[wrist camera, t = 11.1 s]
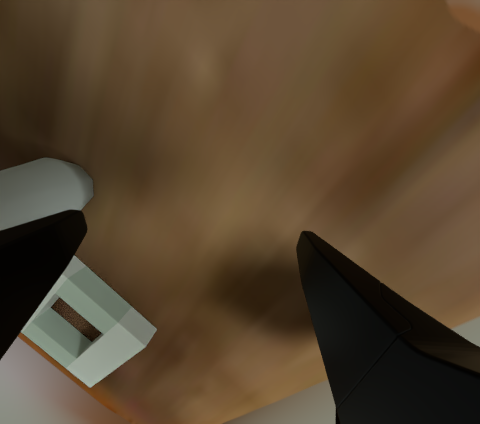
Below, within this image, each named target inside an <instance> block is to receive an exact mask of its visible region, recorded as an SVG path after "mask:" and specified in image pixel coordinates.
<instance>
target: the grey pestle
mask: <svg viewBox="0 0 480 424" xmlns="http://www.w3.org/2000/svg"><path fill="white" fill-rule="evenodd" d="M93 196H94V193H93V179H92V178H91V177H90V176H89V175H88V174H87V173H86V172H85V171H84V170H83V169H82V168H81V167H80V166H79V165H76V164H72V163H69V162H65V161H62V160H57V159H53V158H41V159H38V160H35V161H32V162H28V163H25V164H22V165H18V166H15V167H11V168H8V169H4V170H1V171H0V231H1V230H4V229H7V228H11V227H14V226H17V225H20V224H24V223H27V222H30V221H33V220H37V219H40V218H43V217H46V216H49V215H53V214H56V213H59V212H62V211H66V210H69V209H73V210H80V211H81V209H82V208H83V207H84V206H85V205H86V204H87V203H88V202H89V201H90V200H91V198H92V197H93Z"/></svg>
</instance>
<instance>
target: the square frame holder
mask: <svg viewBox="0 0 480 424" xmlns="http://www.w3.org/2000/svg"><path fill="white" fill-rule="evenodd" d="M59 297H60V298H62V299H63V300H64V301H65V302H66V303H67V304H69V305H70V306H71V307H72V308H73V309H74V310H76V311H77V312H78V313H79V314H80V315H81V316H83V317H84V318H85V319H86V320H87V321H88V322H90V323H91V324H92V325H93V326H94V327H95V328H97V329H98V330H99V331H100V332H101V333H102V334H101V335H99V336H98V337H97V338H96V339H95V340H94V341H93V342H91V341H90V340H89V339H87V338H86V337H85V336H84V335H83V334H82V333H80V332H79V331H78V330H77V329H76V328H74V327H73V326H72V325H71V324H70V323H68V322H67V321H66V320H65V319H64V318H63V317H61V316H60V315H59V314H58V313H57V312H55V311H54V310H53V309H52V308H51V306H52V305H53V304H54V303H55V302H56V301H57V299H58V298H59ZM156 330H157V329H156V328H155V327H154V326H153V325H152V324H151V323H150V322H149V321H147V320H146V319H145V318H144V317H143V316H142V315H141V314H140V313H138V312H137V311H136V310H135V309H134V308H133V307H132V306H131V305H129V304H128V303H127V302H126V301H125V300H124V299H123V298H122V297H121V296H119V295H118V294H117V293H116V292H115V291H114V290H113V289H112V288H110V287H109V286H108V285H107V284H106V283H105V282H104V281H103V280H101V279H100V278H99V277H98V276H97V275H96V274H95V273H94V272H92V271H91V270H90V269H89V268H88V267H87V266H86V265H85V264H83V263H82V262H81V261H80V260H79V259H78V258H77V257H76V256H73V258H72V260H71V261H70V263H69V265H68V266H67V268H66V269H65V271H64V272H63V273H62V275H61V276H60V278H59V279H58V280H57V282H56V283H55V285H54V286H53V287H52V289H51V290H50V292H49V293H48V294H47V296H46V297H45V298H44V300H43V301H42V303H41V304H40V305H39V307H38V308H37V310H36V311H35V312H34V314H33V315H32V317H31V318H30V319H29V321H28V322H27V324H26V325H25V326H24V328H23V329H22V331H21V332H22V333H23V334H24V335H26V336H27V337H28V338H29V339H30V340H32V341H33V342H34V343H35V344H37V345H38V346H39V347H40V348H42V349H43V350H44V351H45V352H47V353H48V354H49V355H50V356H51V357H53V358H54V359H55V360H56V361H58V362H59V363H60V364H61V365H63V366H64V367H65V368H66V369H68V370H69V371H70V372H71V373H72V374H74V375H75V376H76V377H77V378H79V379H80V380H81V381H82V382H84V383H85V384H86V385H87V386H88V387H90V388H91V387H92V386H93V385H95V384H96V383H97V382H99V381H100V380H101V379H103V378H104V377H106V376H107V375H108V374H110V373H111V372H112V371H114V370H115V369H116V368H118V367H119V366H121V365H122V364H123V363H125V362H126V361H127V360H129V359H130V358H131V357H133V356H134V355H135V354H137V353H138V352H140V351H141V350H142V349H144V348H145V347H146V346H147V344H148V343H149V341H150V340H151V338H152V337H153V335H154V334H155V332H156Z"/></svg>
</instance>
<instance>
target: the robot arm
mask: <svg viewBox="0 0 480 424" xmlns="http://www.w3.org/2000/svg"><path fill="white" fill-rule="evenodd" d="M86 233H87V224H86V221H85V217H84V214H83V212H82V211H80V210H73V209H69V210H66V211H62V212H59V213H56V214H53V215H49V216H46V217H43V218H40V219H37V220H33V221H30V222H27V223H24V224H20V225H17V226H14V227H11V228H7V229H4V230H1V231H0V360H1V358H2V357H3V355H4V354H5V353H6V351H7V350H8V349H9V347H10V346H11V344H12V343H13V342H14V340H15V339H16V338H17V336H18V335H19V333H20V332H21V331H22V329H23V328H24V326H25V325H26V324H27V322H28V321H29V319H30V318H31V317H32V315H33V314H34V312H35V311H36V310H37V308H38V307H39V305H40V304H41V303H42V301H43V300H44V298H45V297H46V296H47V294H48V293H49V292H50V290H51V289H52V287H53V286H54V285H55V283H56V282H57V280H58V279H59V278H60V276H61V275H62V273H63V272H64V271H65V269H66V268H67V266H68V265H69V263H70V261H71V260H72V258H73V256H74V255H75V253H76V251H77V249H78V247H79V246H80V244H81V242H82V240H83V239H84V237H85V235H86ZM296 251H297V258H298V264H299V271H300V277H301V282H302V286H303V290H304V294H305V297H306V301H307V305H308V308H309V312H310V315H311V319H312V323H313V326H314V330H315V333H316V337H317V340H318V344H319V348H320V351H321V355H322V358H323V362H324V366H325V369H326V373H327V376H328V380H329V384H330V387H331V391H332V394H333V398H334V401H335V405H336V424H480V347H479V346H476V345H475V344H473V343H471V342H469V341H468V340H466V339H465V338H463V337H462V336H460V335H459V334H457V333H456V332H454V331H453V330H451V329H449V328H448V327H446V326H445V325H443V324H442V323H440V322H439V321H437V320H436V319H434V318H433V317H431V316H430V315H428V314H426V313H425V312H423V311H422V310H420V309H419V308H417V307H416V306H414V305H413V304H411V303H410V302H408V301H407V300H405V299H404V298H403V297H401V296H400V295H398V294H397V293H395V292H394V291H393V290H391V289H390V288H389V287H387V286H386V285H384V284H383V283H380V281H379V280H378V279H376V278H375V277H373V276H372V275H371V274H369V273H368V272H367V271H365V270H364V269H362V268H361V267H360V266H358V265H357V264H356V263H354V262H353V261H352V260H350V259H349V258H347V257H346V256H345V255H343V254H342V253H341V252H339V251H338V250H336V249H335V248H334V247H332V246H331V245H330V244H328V243H327V242H326V241H324V240H323V239H321V238H320V237H319V236H317V235H316V234H315V233H313V232H311V231H302V232H301V234H300V237H299V241H298V244H297V248H296Z"/></svg>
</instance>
